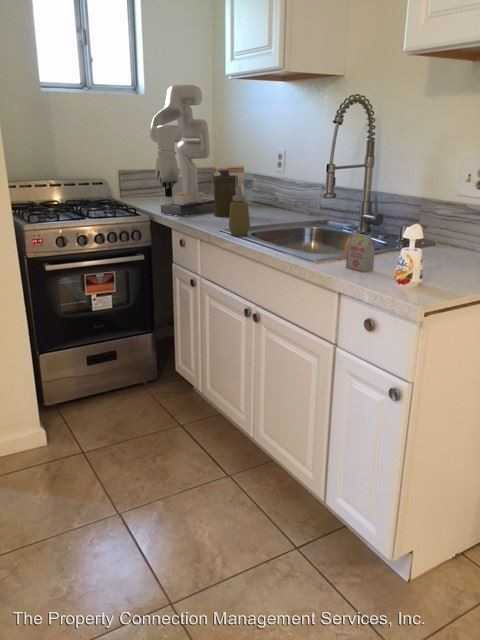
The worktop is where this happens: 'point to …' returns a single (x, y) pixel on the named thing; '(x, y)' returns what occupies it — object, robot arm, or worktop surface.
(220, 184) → the canister
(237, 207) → the squeeze bottle
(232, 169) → the coffeecake box
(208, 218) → the worktop surface
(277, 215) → the worktop surface
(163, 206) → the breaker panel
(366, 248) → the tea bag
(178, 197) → the block
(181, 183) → the skincare box
